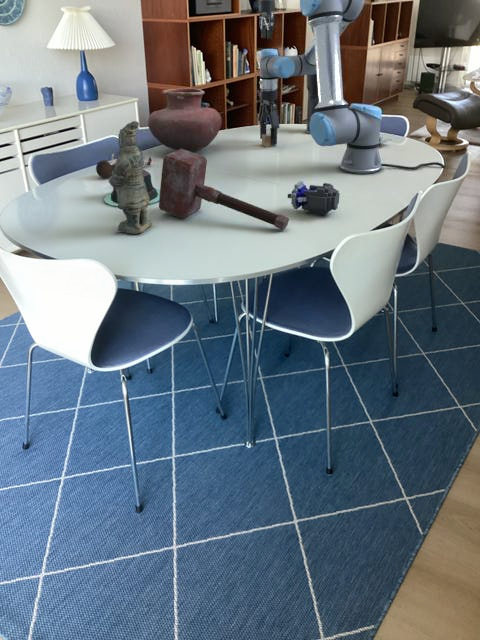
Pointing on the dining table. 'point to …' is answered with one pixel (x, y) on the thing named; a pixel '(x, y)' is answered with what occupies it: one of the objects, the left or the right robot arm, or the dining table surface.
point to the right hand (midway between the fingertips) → (268, 141)
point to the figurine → (110, 167)
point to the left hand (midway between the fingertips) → (266, 38)
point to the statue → (131, 182)
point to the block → (266, 140)
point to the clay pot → (185, 121)
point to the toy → (315, 198)
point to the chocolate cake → (152, 192)
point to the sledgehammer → (200, 190)
